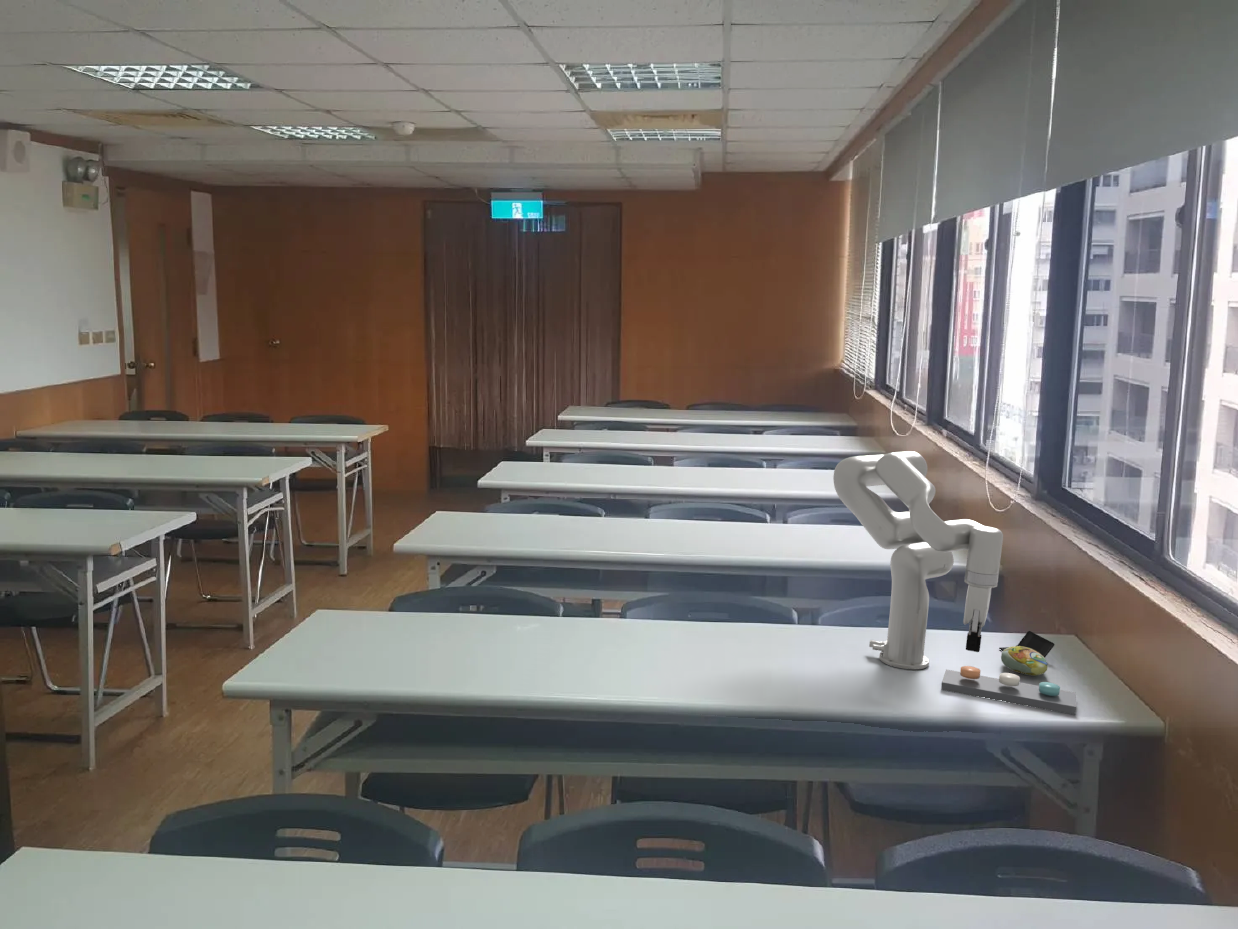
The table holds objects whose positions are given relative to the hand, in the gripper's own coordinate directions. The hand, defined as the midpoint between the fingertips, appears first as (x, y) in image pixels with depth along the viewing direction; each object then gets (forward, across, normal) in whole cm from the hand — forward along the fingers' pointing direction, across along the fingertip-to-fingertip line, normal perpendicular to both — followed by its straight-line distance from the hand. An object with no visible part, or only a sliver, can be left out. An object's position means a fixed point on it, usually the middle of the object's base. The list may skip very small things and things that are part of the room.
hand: (972, 650), depth 247 cm
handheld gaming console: (+10, -33, +12) cm, 37 cm away
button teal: (+7, 0, +18) cm, 19 cm away
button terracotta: (+6, 0, 0) cm, 7 cm away
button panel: (+10, 0, +9) cm, 13 cm away
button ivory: (+6, 0, +9) cm, 11 cm away
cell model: (+10, -21, +12) cm, 26 cm away
